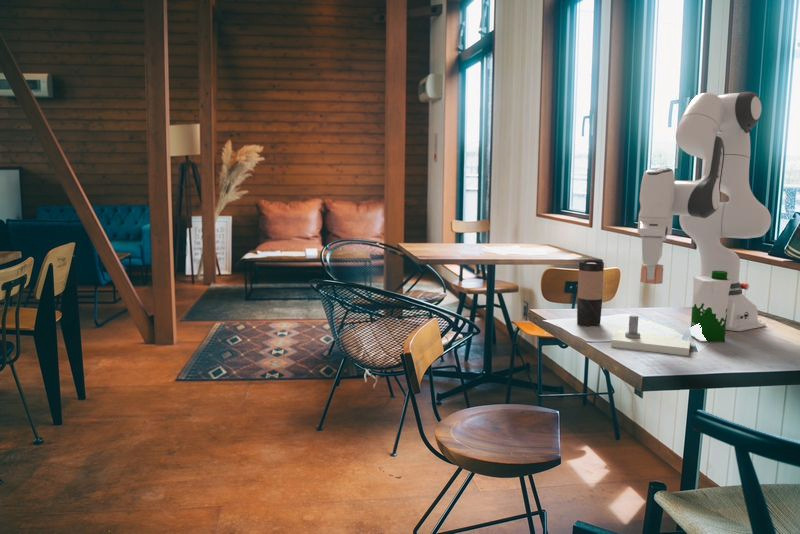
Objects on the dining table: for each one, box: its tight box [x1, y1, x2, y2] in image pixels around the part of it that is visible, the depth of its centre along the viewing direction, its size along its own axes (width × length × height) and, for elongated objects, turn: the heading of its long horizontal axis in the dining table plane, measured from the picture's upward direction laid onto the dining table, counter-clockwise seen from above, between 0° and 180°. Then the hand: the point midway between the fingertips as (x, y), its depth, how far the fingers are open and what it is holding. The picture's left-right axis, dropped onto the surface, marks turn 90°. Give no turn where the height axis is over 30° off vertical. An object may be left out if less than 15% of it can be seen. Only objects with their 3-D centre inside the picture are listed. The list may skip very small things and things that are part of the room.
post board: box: [610, 314, 691, 356], centre depth 190 cm, size 20×12×8 cm, turn 65°
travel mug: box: [576, 260, 605, 327], centre depth 215 cm, size 8×8×20 cm
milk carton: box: [690, 271, 731, 343], centre depth 197 cm, size 9×9×20 cm
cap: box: [640, 263, 664, 285], centre depth 188 cm, size 6×6×5 cm
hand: (651, 277), depth 188 cm, fingers closed on cap, 6 cm apart
